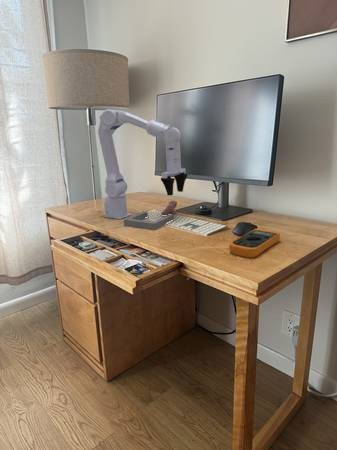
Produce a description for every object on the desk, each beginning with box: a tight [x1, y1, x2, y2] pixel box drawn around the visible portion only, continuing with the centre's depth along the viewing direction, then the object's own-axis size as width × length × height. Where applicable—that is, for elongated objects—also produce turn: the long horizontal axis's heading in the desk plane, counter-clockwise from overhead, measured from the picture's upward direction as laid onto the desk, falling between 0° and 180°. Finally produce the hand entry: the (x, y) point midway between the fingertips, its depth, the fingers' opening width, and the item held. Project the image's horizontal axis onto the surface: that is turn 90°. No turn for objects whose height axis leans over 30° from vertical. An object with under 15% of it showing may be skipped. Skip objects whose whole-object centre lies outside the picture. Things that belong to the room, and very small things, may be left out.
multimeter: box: [228, 228, 281, 259], centre depth 94 cm, size 9×18×3 cm, turn 138°
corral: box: [123, 211, 175, 231], centre depth 124 cm, size 15×13×2 cm
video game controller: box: [161, 200, 178, 216], centre depth 136 cm, size 10×5×7 cm, turn 168°
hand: (175, 193), depth 127 cm, fingers open, 7 cm apart
